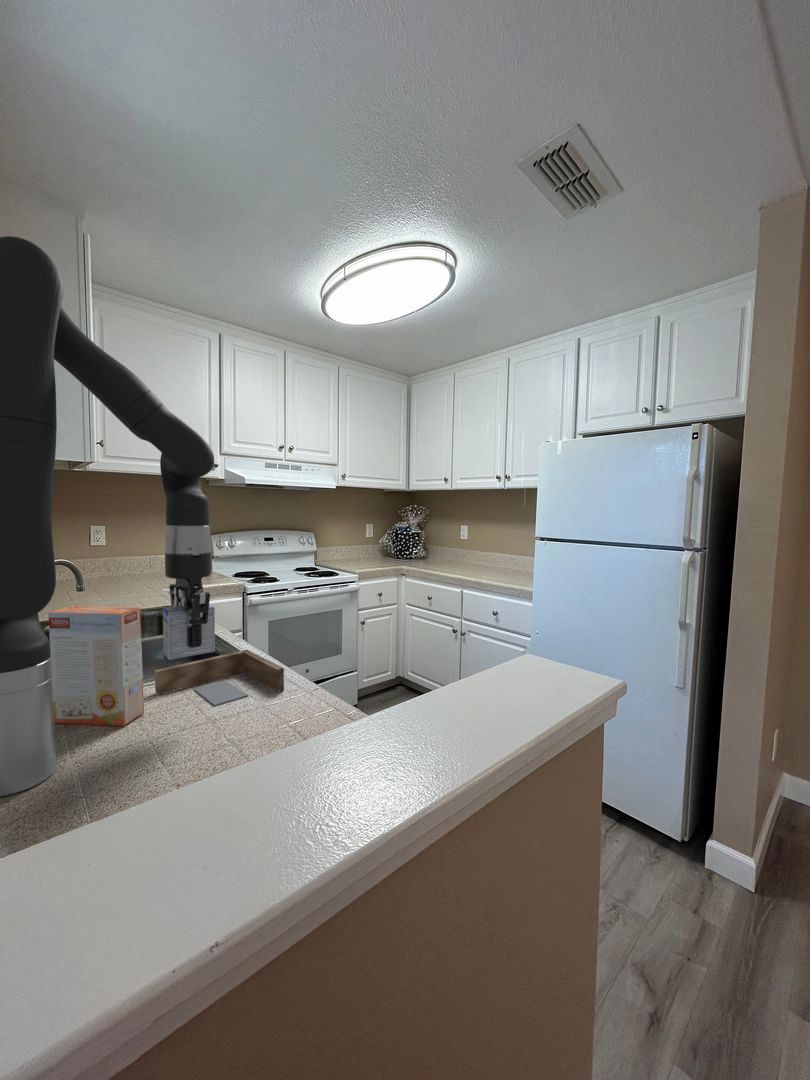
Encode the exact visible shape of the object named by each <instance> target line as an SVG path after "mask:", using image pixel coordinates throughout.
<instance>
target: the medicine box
mask: <svg viewBox="0 0 810 1080" xmlns="http://www.w3.org/2000/svg"><path fill="white" fill-rule="evenodd" d="M189 609H192V607H189ZM215 613H216V608H215V606H213V605H212V604H210V603H209V611H208V621H207V623H206V624H203V625H201V632H202V644H201V646H199V647H193V648H190V647H188V645H187V627H188V626H187V619H186V615H185V614H183V610H182V606H173V607H171V606H165V607H164V608H162V634H163V635H162V636H163V637H162V638H163V639H162V640H163V643H162V646H163V649H162V650H163V654H164V656H165V657H166V658H167V659H168V660H170V661H171V660H174V659H175V660H176V659H180V658H186V657H192V656H197V655H202V654H209V653H215V652H216V641H215V640H216V636H215V635H216V633H215V632H216V631H215V630H216V626H215V625H216V618H215V616H216V614H215ZM202 614H203V613H202ZM196 618H198V614H197V617H196Z"/></svg>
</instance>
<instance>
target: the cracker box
mask: <svg viewBox="0 0 810 1080" xmlns="http://www.w3.org/2000/svg"><path fill="white" fill-rule="evenodd" d="M141 624H142V623H141V607H140V606H139V607H135V606H133V607H132V606H97V605H96V606H94V605H93V606H91V605H88V606H87V605H72V606H71V605H70V606H65V607H63V608H59V609H56V610H55V609H53V610H51V611H49V612H48V629H49V630H48V631H49V634H48V635H49V642H50V651H51V670H52V691H53V711H54V724H70V725H71V724H72V725H93V726H94V725H95V726H110V727H111V726H114V727H124V726H126V725H128V724H129V723H131V722H132V721H135V719H137V718H139V717H140V716H141V715H143V714H144V713H145V703H144V698H145V697H144V673H143V650H142V649H143V648H142V647H143V646H142V645H143V644H142V625H141Z"/></svg>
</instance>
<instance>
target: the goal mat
mask: <svg viewBox="0 0 810 1080" xmlns="http://www.w3.org/2000/svg"><path fill="white" fill-rule="evenodd" d="M193 690H195V691H194V692H196V693H197V694H198V695H200V696H201V697H202V699H203V698H204V700H206V701H207V702H208V703H210V704H211V706H214V707H217V706H220V705H223V704H226V703H230V702H234V701H237V700H240V699H243V697H244V698H246V697H249V694H247V693H246V692H244V691H243V690H242V689H240V688H238V687H236V685H233V684H232V683H230V682H229V681H228V680H223V681H222V680H221V681H219V682H216V683H215V682H214V683H211V684H207V685H204V686H199V687H196V688H193Z"/></svg>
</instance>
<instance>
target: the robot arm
mask: <svg viewBox="0 0 810 1080" xmlns="http://www.w3.org/2000/svg"><path fill="white" fill-rule="evenodd" d="M64 289H65V288H64V281H63V278H62V275H61V273H60V270H59V269H58V267H57V265H56V263H55V262H54V261H53V260H52V258H51V257H50V255H48V254H47V253H46V252H45V251H44V250H43V249H42V248H41V247H39V245H37V244H35V243H33V242H32V241H30V240H28V239H24V238H23V237H22V238H21V237H18V236H11V235H10V236H8V235H6V236H0V797H5V796H10V795H13V794H16V793H20V792H23V791H25V790H27V789H30V788H33V787H35V786H36V785H38V784H40V783H42V782H44V781H45V780H47V779H48V778H49V777H51V776H52V775H53V773H55V772H56V769H57V752H56V751H57V750H56V738H55V737H56V736H55V735H56V733H55V732H56V731H55V723H54V711H53V691H52V670H51V651H50V638H49V637H48V636H47V635H46V633H45V631H44V630H43V628H42V626H41V622H40V619H39V613H40V612H42V610H44V609H45V608H46V607H47V606H48V604H49V603H50V601H51V600H52V598H53V596H54V594H55V591H56V585H57V572H56V563H55V561H56V560H55V554H54V553H55V552H54V541H53V527H52V521H53V520H52V511H53V510H52V509H53V502H54V501H53V499H54V482H55V466H56V465H55V461H56V452H57V451H56V450H57V431H58V430H57V425H58V423H57V421H58V420H57V387H56V372H55V362H57V363H58V364H59V365H61V367H63V368H64V369H65V370H66V371H68V373H70V375H72V376H73V378H75V379H76V380H78V382H79V383H81V385H83V386H84V387H85V388H86V389H87V390H88V391H89V392H90V393H91V394H92V395H93V396H95V397H96V398H97V400H98V401H100V403H102V405H103V406H105V408H107V409H108V410H109V412H111V413H112V415H114V416H115V418H117V420H118V421H120V422H121V423H122V424H123V425H124V426H125V428H126V429H128V430H129V431H130V432H131V433H132V434H133V435H135V436H136V437H137V438H138V439H140V440H142V441H145V442H148V443H150V444H151V445H152V446H153V447H155V448H156V449H157V450H158V451H159V452H160V453H161V454H160V460H159V465H160V467H159V469H160V475H161V480H162V486H163V491H164V495H165V500H166V502H165V532H164V533H165V534H164V570H165V571H164V572H165V573H164V574H165V577H166V578H169V579H175V583H171V584H169V585H168V588H169V595H170V607H173V606H182V610H183V614H185V615H186V619H187V626H188V627H187V645H188V647H190V648H193V647H199V646H201V644H202V632H201V625H203V624H206V623H207V621H208V611H209V604H210V599H211V594H210V592H209V591H205V590H204V587H203V582H202V580H203V578H206V577H209V576H210V575H211V574H212V552H211V551H212V541H211V539H212V537H211V531H210V505H209V504H210V503H209V498H208V497H207V496H206V494H204V493H203V492H202V491H203V490H202V482H201V477H204V476H206V475H208V474H209V473H210V472H211V471H212V470H213V467H214V466H215V455H214V452H213V450H212V448H211V446H210V445H209V443H208V442H207V440H205V439H204V437H202V435H200V434H199V432H197V431H196V430H195V429H193V428H192V427H191V426H190V425H188V424H187V423H186V422H184V421H183V420H182V419H181V418H179V417H178V416H177V415H175V414H174V413H172V412H171V411H170V410H169V408H168V407H167V406H166V405H165V403H163V402H162V401H161V399H160V398H159V397H158V396H157V395H156V394H155V393H154V391H152V390H151V389H150V388H149V386H148V385H146V384H147V383H145V382H144V381H143V380H142V379H140V378H139V377H138V376H137V375H136V374H135V373H134V372H132V371H131V370H130V369H129V368H128V367H126V366H125V365H124V364H123V363H121V362H120V361H118V360H117V359H115V358H114V357H113V356H111V355H110V354H108V353H107V352H106V351H105V350H103V349H102V348H101V347H99V346H98V345H97V344H96V343H95V342H94V341H92V340H91V339H90V338H89V337H88V336H87V335H86V334H85V333H84V332H83V331H82V330H81V329H80V328H79V327H78V326H77V325H76V323H75V322H74V321H73V320H72V319H71V317H70V316H69V315H68V313H67V312H66V310H65V309H64V308H63V307H62V303H63V298H64V293H65V291H64ZM189 607H192V609H189ZM202 613H203V614H202ZM197 614H198V618H196V617H197Z"/></svg>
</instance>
